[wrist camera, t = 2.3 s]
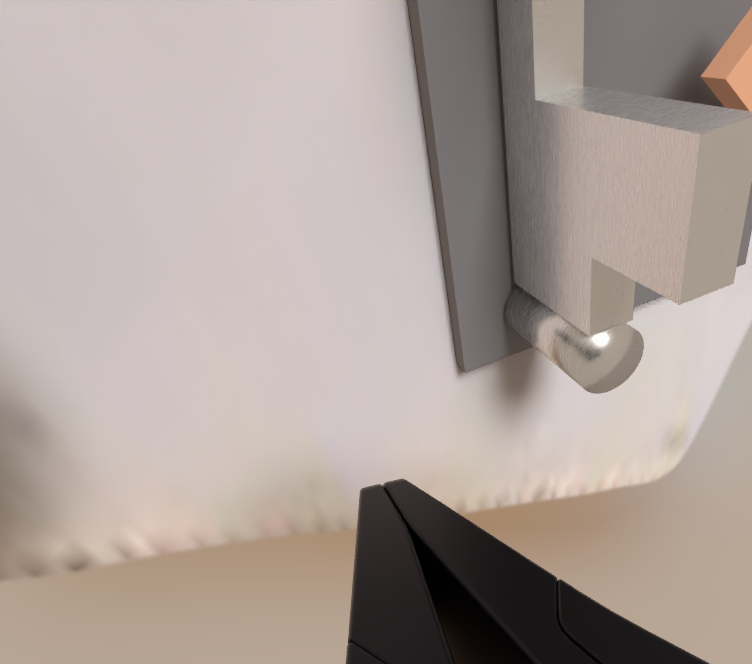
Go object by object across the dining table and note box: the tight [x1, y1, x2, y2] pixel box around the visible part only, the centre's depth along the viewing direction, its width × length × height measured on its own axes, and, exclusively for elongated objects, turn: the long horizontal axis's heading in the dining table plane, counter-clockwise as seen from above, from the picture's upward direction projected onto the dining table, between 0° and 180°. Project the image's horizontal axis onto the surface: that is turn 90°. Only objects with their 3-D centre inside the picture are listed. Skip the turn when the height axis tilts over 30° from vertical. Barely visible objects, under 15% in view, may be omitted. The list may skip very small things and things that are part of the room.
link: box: [497, 0, 752, 393], centre depth 18 cm, size 3×15×8 cm, turn 11°
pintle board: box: [408, 0, 752, 373], centre depth 21 cm, size 16×17×5 cm
